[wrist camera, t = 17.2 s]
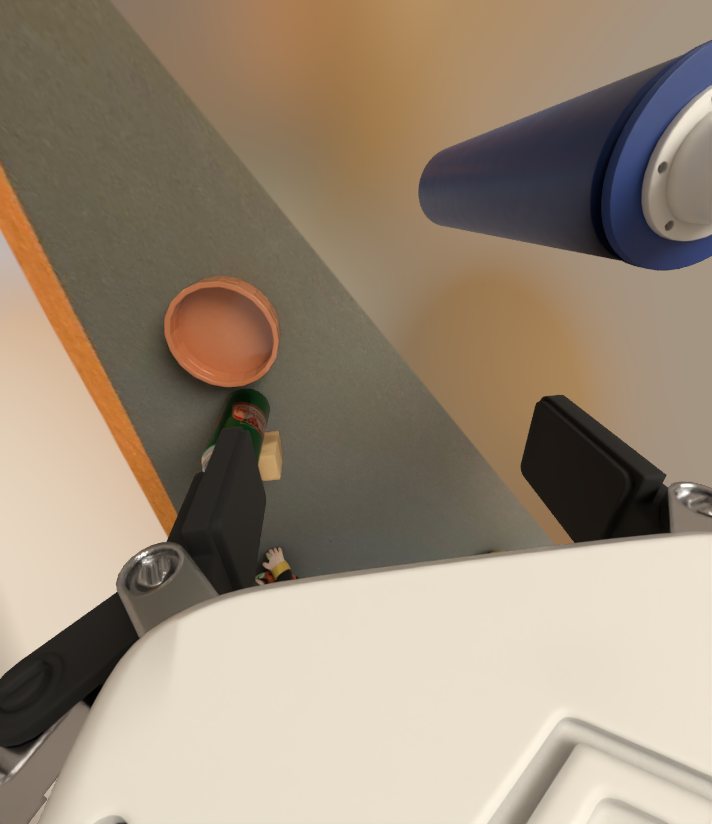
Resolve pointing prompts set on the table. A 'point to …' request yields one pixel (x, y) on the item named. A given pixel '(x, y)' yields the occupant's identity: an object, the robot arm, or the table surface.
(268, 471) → the wooden block
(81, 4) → the table surface
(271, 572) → the figurine
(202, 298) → the terracotta bowl
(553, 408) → the robot arm
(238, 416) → the soda can
